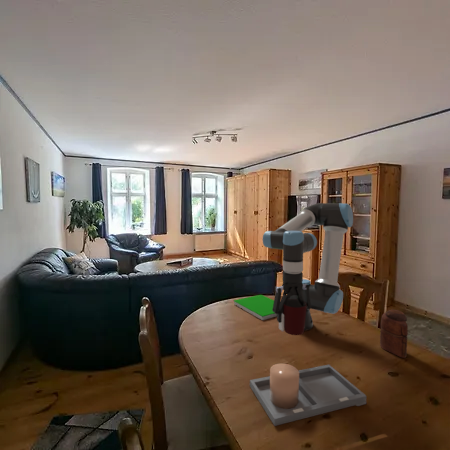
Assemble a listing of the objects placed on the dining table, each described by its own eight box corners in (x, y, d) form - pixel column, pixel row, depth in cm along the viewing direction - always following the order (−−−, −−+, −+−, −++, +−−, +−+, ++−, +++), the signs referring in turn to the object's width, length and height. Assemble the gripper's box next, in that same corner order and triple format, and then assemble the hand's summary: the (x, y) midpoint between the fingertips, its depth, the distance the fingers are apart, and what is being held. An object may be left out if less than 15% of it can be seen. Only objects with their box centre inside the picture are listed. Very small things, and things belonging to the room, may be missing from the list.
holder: (328, 371, 105) (329, 363, 105) (366, 403, 88) (366, 395, 88) (249, 387, 96) (249, 379, 95) (274, 427, 79) (274, 418, 78)
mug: (273, 324, 114) (273, 298, 113) (292, 321, 117) (292, 295, 116) (291, 338, 103) (291, 309, 102) (310, 333, 106) (311, 305, 105)
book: (262, 321, 150) (262, 316, 150) (233, 305, 174) (233, 300, 174) (292, 313, 162) (292, 308, 162) (261, 298, 186) (261, 294, 186)
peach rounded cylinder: (289, 387, 95) (289, 361, 94) (304, 405, 87) (305, 377, 86) (264, 392, 92) (265, 366, 92) (277, 411, 84) (278, 382, 83)
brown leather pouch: (412, 355, 116) (415, 313, 115) (403, 359, 113) (406, 316, 112) (384, 343, 127) (386, 304, 125) (375, 346, 124) (377, 306, 122)
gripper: (310, 266, 114) (309, 320, 117) (263, 271, 108) (262, 327, 110) (322, 271, 107) (320, 328, 109) (272, 276, 101) (271, 336, 103)
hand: (291, 328), depth 110 cm, fingers closed on mug, 8 cm apart
